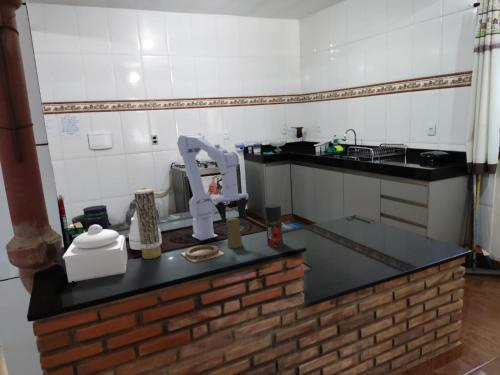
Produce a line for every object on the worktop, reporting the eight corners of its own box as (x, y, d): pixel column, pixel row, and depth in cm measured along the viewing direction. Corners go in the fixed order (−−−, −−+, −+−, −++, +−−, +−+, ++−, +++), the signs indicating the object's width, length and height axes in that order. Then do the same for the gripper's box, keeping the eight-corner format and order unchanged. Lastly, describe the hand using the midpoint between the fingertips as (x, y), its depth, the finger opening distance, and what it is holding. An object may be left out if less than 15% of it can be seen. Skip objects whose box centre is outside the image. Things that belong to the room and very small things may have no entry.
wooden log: (164, 253, 137) (157, 188, 134) (154, 260, 131) (146, 192, 127) (149, 253, 140) (141, 189, 136) (138, 259, 133) (130, 192, 130)
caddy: (180, 254, 135) (180, 250, 135) (209, 246, 141) (209, 242, 141) (194, 263, 125) (193, 258, 125) (224, 254, 131) (224, 249, 131)
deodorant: (265, 246, 137) (262, 207, 135) (270, 241, 142) (267, 204, 140) (280, 247, 135) (277, 207, 132) (285, 242, 140) (282, 204, 138)
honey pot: (168, 242, 151) (163, 200, 149) (140, 251, 142) (134, 207, 139) (151, 238, 160) (146, 198, 157) (124, 246, 151) (118, 204, 148)
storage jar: (91, 244, 157) (86, 211, 155) (84, 240, 164) (79, 208, 162) (114, 239, 163) (110, 206, 161) (106, 235, 171) (102, 204, 169)
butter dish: (125, 273, 121) (119, 227, 119) (66, 283, 116) (58, 235, 114) (127, 256, 138) (122, 216, 135) (76, 265, 133) (69, 223, 131)
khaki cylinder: (240, 248, 137) (238, 219, 135) (225, 248, 138) (222, 220, 137) (244, 243, 143) (242, 216, 141) (229, 243, 144) (227, 216, 143)
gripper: (217, 188, 130) (221, 225, 132) (251, 182, 137) (254, 217, 140) (208, 186, 136) (212, 222, 138) (241, 181, 143) (244, 214, 145)
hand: (232, 219), depth 139 cm, fingers open, 7 cm apart
